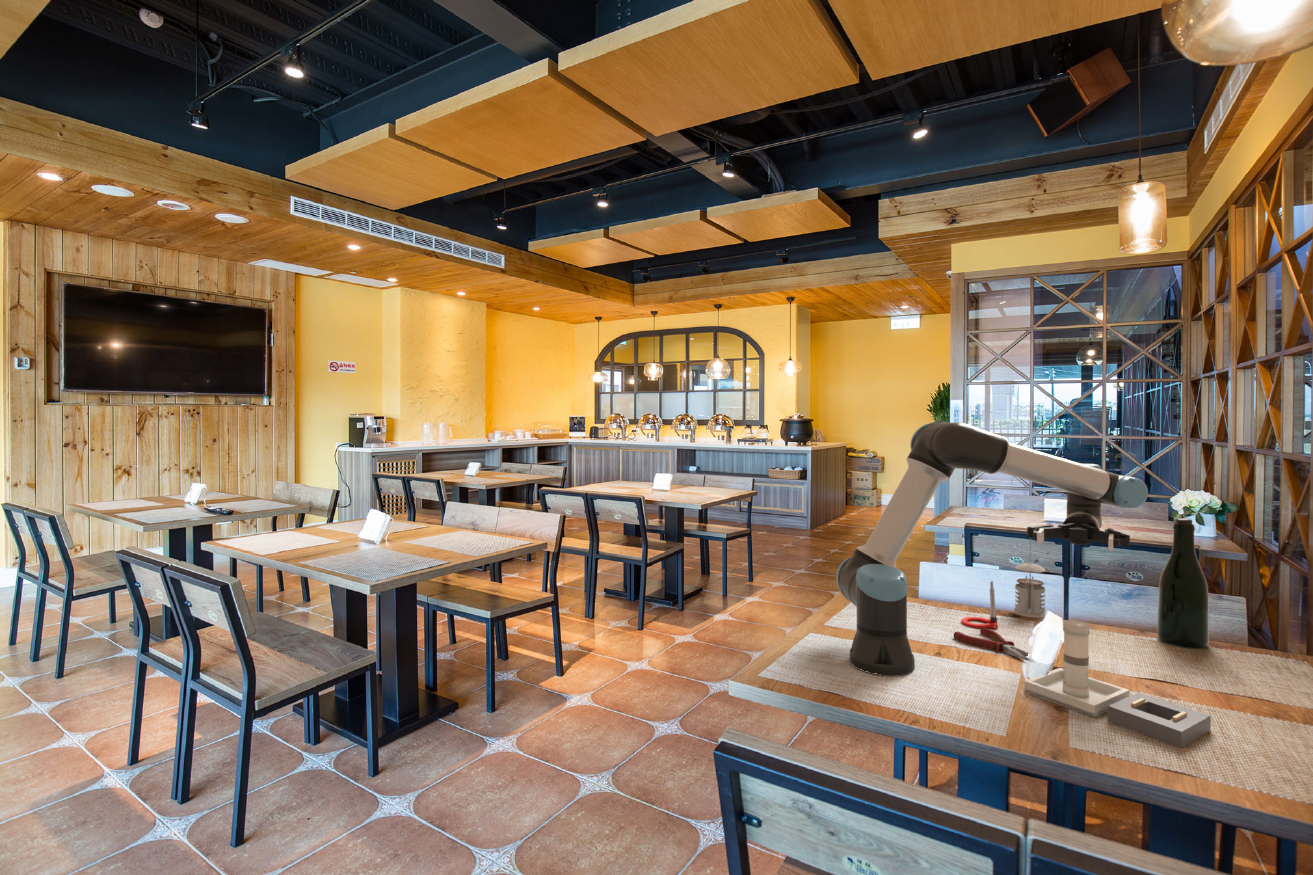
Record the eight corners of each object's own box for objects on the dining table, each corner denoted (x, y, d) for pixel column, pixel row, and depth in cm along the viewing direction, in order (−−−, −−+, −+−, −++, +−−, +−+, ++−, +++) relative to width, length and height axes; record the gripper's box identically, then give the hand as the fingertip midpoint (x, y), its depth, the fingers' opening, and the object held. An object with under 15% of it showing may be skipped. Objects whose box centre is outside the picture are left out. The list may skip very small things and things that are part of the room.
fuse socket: (1181, 747, 115) (1181, 728, 115) (1107, 720, 125) (1108, 702, 125) (1210, 730, 121) (1210, 712, 120) (1137, 706, 131) (1138, 689, 131)
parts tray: (1094, 717, 126) (1094, 705, 126) (1024, 691, 139) (1024, 680, 138) (1129, 701, 133) (1129, 689, 133) (1059, 678, 145) (1059, 667, 145)
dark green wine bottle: (1191, 636, 171) (1193, 515, 170) (1219, 650, 161) (1220, 522, 160) (1148, 634, 173) (1149, 515, 172) (1172, 648, 163) (1174, 521, 162)
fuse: (1081, 699, 133) (1082, 628, 132) (1057, 690, 137) (1058, 622, 137) (1093, 694, 135) (1094, 624, 135) (1070, 686, 139) (1070, 618, 139)
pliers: (1013, 666, 154) (1013, 656, 154) (951, 639, 173) (951, 630, 173) (1049, 660, 157) (1049, 650, 157) (983, 635, 176) (984, 625, 176)
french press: (1048, 610, 195) (1049, 530, 195) (1048, 621, 185) (1048, 536, 185) (1012, 606, 201) (1012, 528, 200) (1010, 616, 191) (1010, 534, 190)
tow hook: (962, 628, 182) (998, 630, 178) (960, 583, 182) (996, 585, 178) (960, 619, 190) (995, 621, 186) (958, 577, 190) (992, 578, 186)
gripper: (1142, 548, 152) (1142, 565, 135) (1024, 537, 168) (1011, 551, 151) (1142, 517, 152) (1143, 530, 135) (1024, 509, 167) (1011, 520, 150)
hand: (1073, 541), depth 143 cm, fingers open, 13 cm apart
